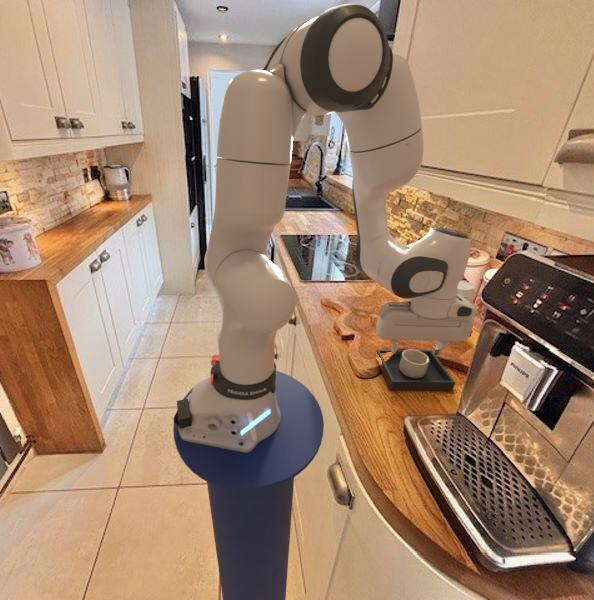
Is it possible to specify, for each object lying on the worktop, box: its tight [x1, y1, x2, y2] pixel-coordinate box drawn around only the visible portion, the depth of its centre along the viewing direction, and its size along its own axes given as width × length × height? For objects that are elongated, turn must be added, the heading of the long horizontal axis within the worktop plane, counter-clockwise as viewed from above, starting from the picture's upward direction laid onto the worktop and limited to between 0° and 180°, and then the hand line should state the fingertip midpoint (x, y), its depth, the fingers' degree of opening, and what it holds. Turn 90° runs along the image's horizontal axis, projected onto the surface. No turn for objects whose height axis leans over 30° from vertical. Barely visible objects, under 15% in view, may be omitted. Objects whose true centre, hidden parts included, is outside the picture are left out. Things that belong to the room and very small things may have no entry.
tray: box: [375, 349, 456, 392], centre depth 80 cm, size 14×12×3 cm
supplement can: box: [457, 279, 476, 305], centre depth 94 cm, size 8×8×15 cm
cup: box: [399, 348, 429, 378], centre depth 80 cm, size 6×6×4 cm
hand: (415, 352), depth 78 cm, fingers open, 8 cm apart
